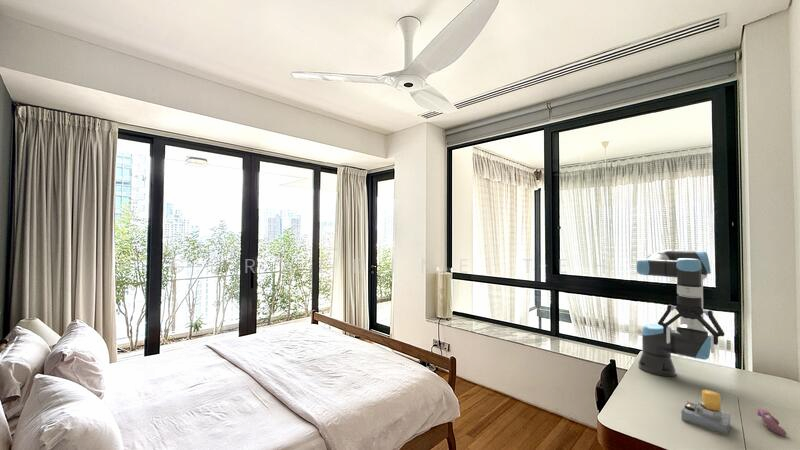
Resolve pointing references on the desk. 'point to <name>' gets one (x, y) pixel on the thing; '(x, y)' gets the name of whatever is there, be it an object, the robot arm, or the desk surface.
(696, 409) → the box
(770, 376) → the desk surface
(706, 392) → the yellow capsule
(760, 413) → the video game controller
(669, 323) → the robot arm
